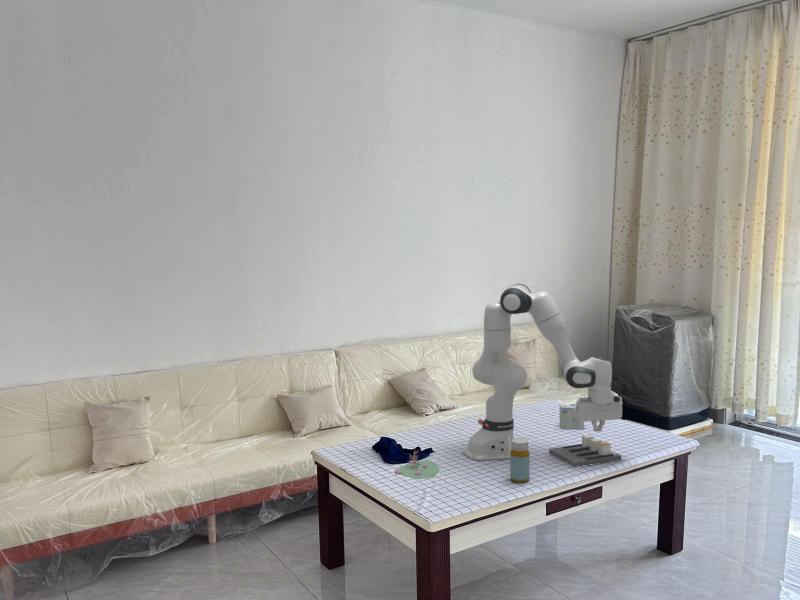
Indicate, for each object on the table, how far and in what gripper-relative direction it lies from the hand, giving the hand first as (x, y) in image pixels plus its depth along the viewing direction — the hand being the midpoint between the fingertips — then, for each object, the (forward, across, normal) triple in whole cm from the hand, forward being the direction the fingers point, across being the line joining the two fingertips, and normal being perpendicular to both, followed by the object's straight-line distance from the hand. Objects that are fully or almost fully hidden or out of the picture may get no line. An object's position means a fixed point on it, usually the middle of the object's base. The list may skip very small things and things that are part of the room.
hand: (597, 431), depth 253 cm
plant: (+17, -74, +17) cm, 78 cm away
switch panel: (+12, -2, +6) cm, 14 cm away
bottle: (+15, -38, -7) cm, 41 cm away
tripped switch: (+10, +4, 0) cm, 11 cm away
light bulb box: (+11, +17, +43) cm, 48 cm away
